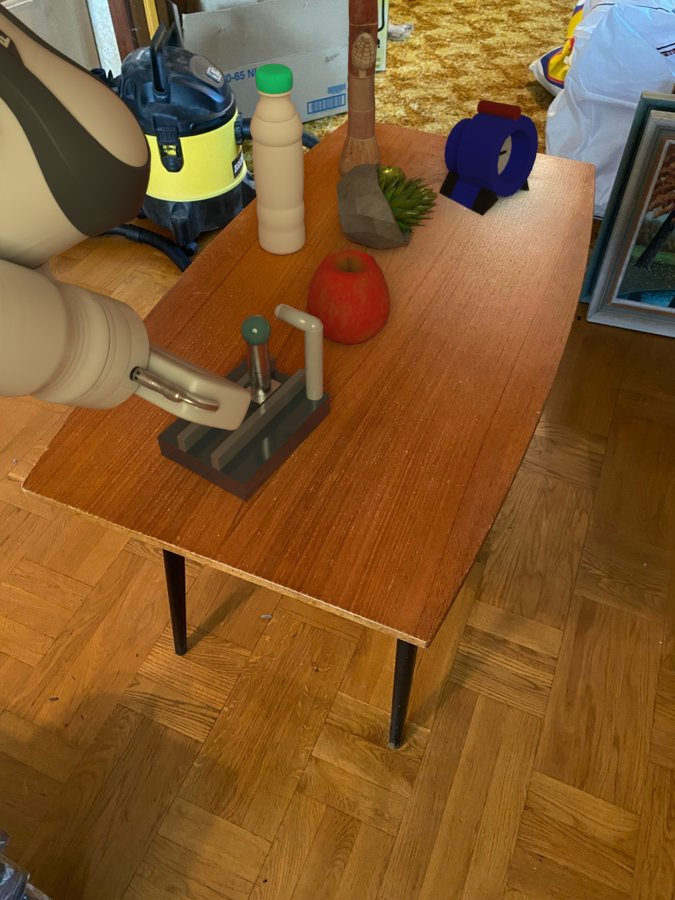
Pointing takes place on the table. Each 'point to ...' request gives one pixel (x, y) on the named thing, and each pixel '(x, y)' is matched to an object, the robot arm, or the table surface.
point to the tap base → (257, 421)
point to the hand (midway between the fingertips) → (190, 375)
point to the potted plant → (381, 205)
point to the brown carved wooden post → (361, 87)
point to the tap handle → (258, 359)
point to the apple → (349, 297)
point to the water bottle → (278, 162)
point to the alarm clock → (489, 156)
